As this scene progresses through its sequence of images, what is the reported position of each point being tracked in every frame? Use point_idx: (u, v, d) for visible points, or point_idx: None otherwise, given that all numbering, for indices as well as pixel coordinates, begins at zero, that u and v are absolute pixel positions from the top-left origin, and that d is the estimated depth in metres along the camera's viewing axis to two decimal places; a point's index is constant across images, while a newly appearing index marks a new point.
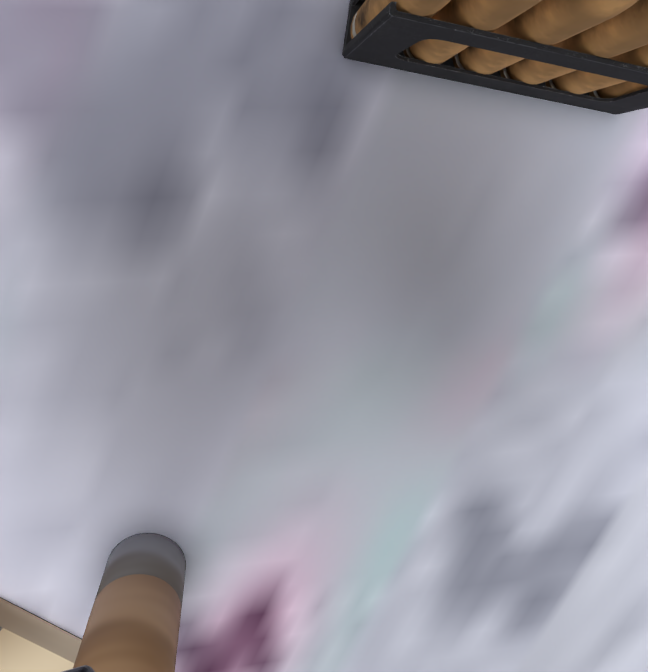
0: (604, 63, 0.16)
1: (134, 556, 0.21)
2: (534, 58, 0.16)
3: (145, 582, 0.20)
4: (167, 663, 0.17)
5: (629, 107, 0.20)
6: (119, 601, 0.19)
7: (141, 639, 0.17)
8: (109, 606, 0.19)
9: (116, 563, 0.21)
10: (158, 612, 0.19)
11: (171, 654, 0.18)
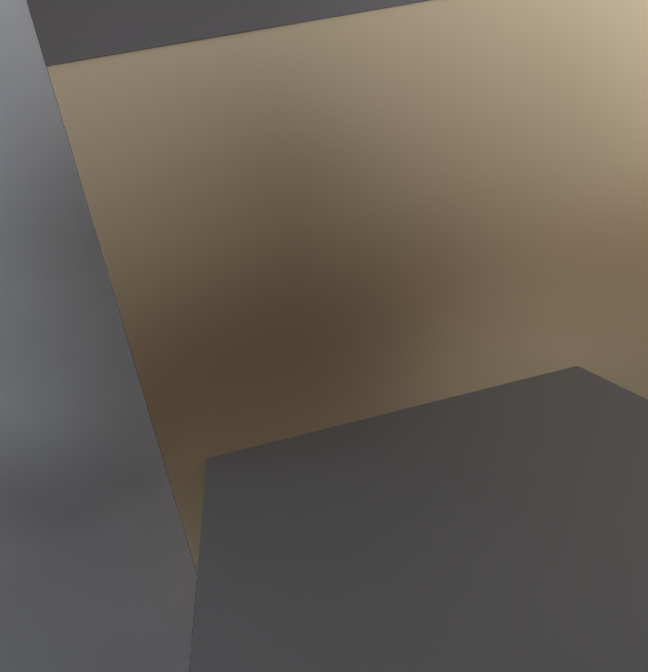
0: None
1: None
2: None
3: None
4: None
5: None
6: None
7: None
8: None
9: None
10: None
11: None
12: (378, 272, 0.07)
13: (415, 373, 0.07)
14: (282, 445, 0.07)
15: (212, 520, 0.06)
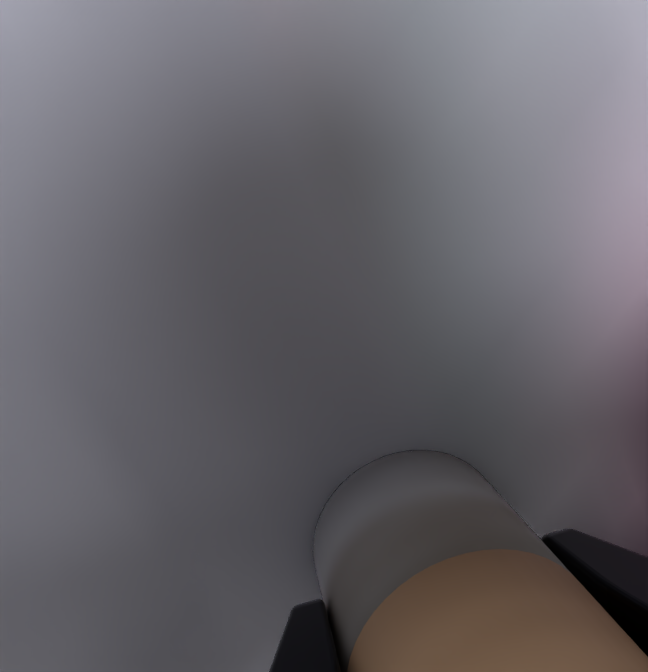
0: None
1: (349, 555, 0.07)
2: None
3: (421, 604, 0.06)
4: None
5: None
6: None
7: None
8: None
9: (331, 602, 0.07)
10: None
11: None
12: None
13: None
14: None
15: None
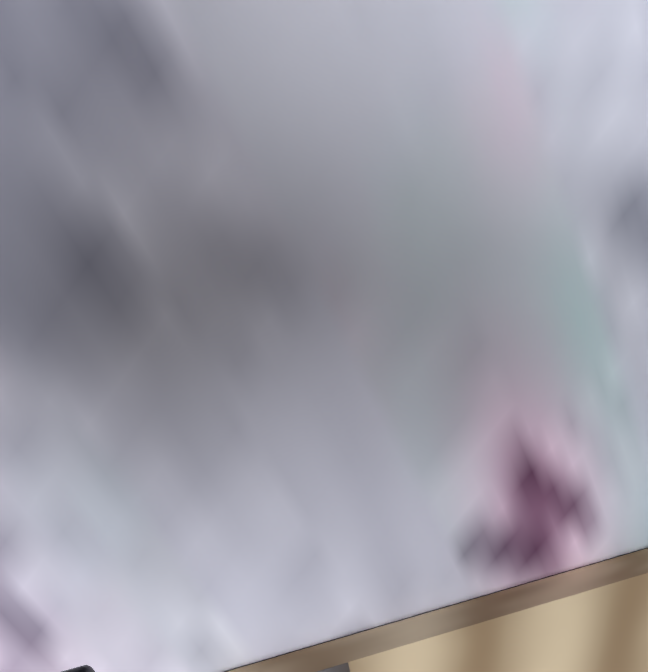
0: None
1: None
2: None
3: None
4: None
5: None
6: None
7: None
8: None
9: None
10: None
11: None
12: None
13: None
14: None
15: None
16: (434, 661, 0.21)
